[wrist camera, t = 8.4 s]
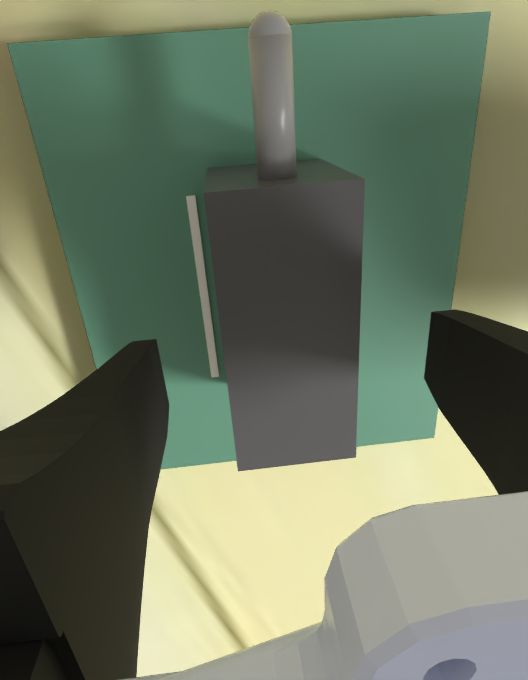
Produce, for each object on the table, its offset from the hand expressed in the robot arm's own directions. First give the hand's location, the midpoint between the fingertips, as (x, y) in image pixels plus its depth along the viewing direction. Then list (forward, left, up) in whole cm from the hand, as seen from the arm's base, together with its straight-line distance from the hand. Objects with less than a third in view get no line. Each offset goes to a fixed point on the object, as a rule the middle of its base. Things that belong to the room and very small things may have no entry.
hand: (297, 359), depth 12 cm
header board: (0, 0, -7) cm, 7 cm away
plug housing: (0, -2, -5) cm, 6 cm away
